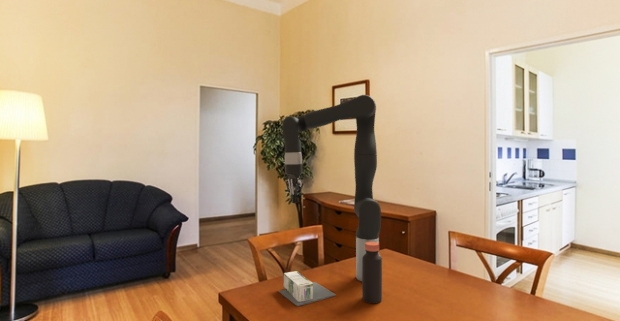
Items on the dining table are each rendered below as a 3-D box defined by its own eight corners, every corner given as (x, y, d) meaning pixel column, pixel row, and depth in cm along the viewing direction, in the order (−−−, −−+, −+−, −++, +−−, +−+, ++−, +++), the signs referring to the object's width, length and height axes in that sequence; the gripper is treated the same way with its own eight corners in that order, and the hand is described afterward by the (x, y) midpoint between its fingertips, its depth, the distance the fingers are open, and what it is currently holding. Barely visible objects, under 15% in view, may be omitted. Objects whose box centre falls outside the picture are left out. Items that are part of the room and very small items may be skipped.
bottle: (370, 305, 114) (370, 247, 114) (358, 297, 120) (358, 242, 120) (385, 301, 117) (385, 244, 117) (373, 294, 123) (373, 240, 123)
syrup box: (296, 285, 131) (314, 299, 118) (282, 287, 128) (299, 302, 115) (296, 270, 131) (314, 283, 118) (282, 272, 128) (299, 286, 115)
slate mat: (314, 283, 134) (314, 281, 134) (335, 295, 122) (335, 294, 122) (278, 292, 125) (278, 290, 125) (297, 306, 113) (297, 305, 113)
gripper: (308, 163, 141) (309, 204, 141) (294, 162, 152) (295, 200, 153) (292, 163, 137) (294, 205, 138) (279, 163, 149) (280, 202, 149)
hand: (294, 203), depth 145 cm, fingers closed
